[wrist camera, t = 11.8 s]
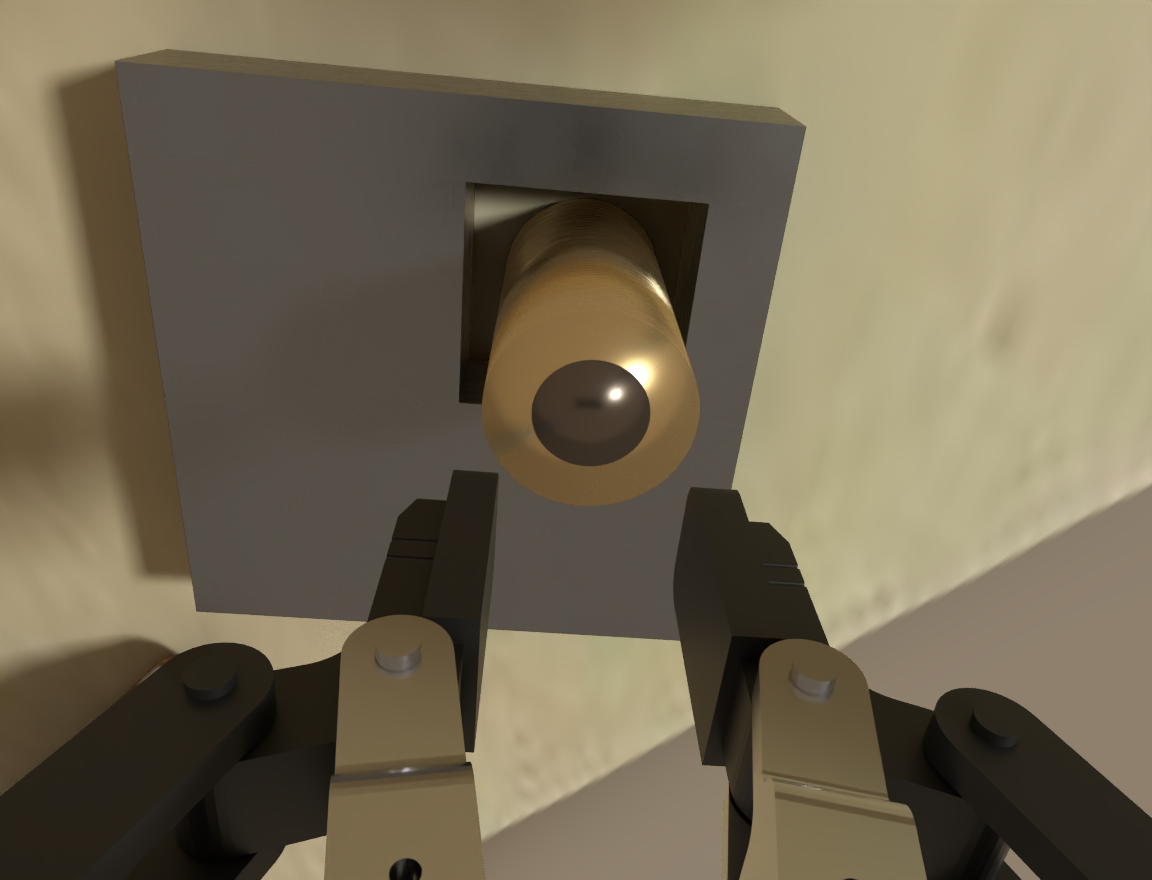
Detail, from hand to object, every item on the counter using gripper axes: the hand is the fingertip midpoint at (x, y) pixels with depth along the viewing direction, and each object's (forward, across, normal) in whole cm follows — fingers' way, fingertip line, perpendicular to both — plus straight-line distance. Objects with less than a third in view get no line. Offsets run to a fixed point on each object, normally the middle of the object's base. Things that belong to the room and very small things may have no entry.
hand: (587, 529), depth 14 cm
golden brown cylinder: (+13, 0, 0) cm, 13 cm away
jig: (+13, +3, +3) cm, 14 cm away
